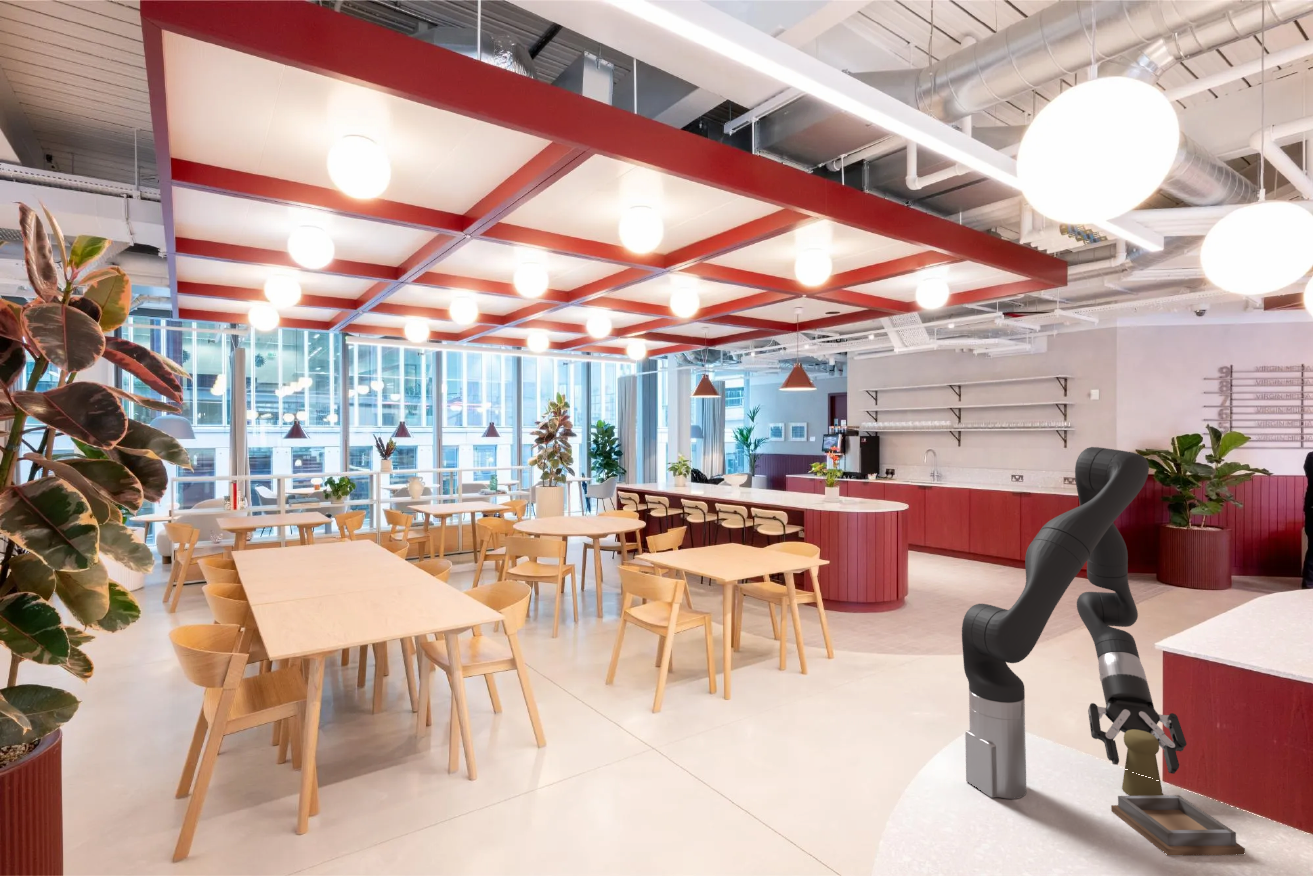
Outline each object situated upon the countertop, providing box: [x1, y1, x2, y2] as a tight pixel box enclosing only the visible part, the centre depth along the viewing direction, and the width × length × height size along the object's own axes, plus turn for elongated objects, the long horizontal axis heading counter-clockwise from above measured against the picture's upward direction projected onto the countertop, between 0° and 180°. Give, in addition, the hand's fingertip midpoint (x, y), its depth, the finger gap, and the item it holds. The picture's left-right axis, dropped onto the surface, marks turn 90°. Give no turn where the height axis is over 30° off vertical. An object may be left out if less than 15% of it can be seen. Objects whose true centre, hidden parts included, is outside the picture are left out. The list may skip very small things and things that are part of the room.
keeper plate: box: [1110, 794, 1246, 856], centre depth 103 cm, size 12×12×3 cm
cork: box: [1121, 729, 1164, 796], centre depth 115 cm, size 6×6×11 cm
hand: (1144, 767), depth 114 cm, fingers open, 8 cm apart
